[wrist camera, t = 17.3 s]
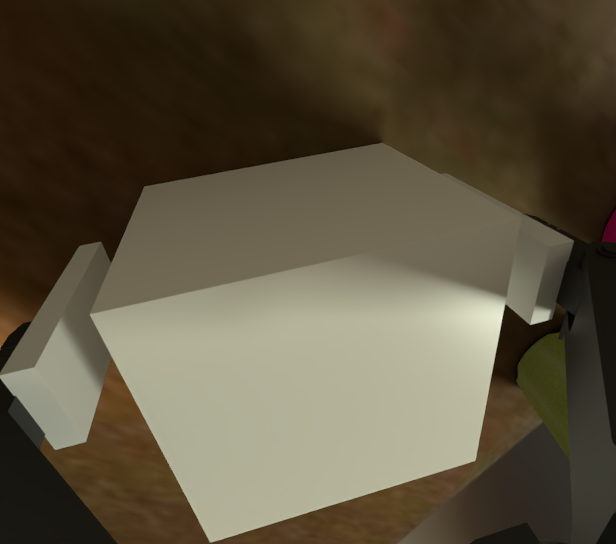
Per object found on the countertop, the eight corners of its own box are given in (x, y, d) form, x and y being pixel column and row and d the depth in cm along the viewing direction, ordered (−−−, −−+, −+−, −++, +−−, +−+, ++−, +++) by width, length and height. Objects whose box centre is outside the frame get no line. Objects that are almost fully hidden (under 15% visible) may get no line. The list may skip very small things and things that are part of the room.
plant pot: (546, 413, 31) (650, 525, 24) (466, 392, 27) (561, 518, 20) (634, 325, 28) (785, 424, 21) (557, 287, 24) (710, 392, 17)
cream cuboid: (208, 366, 21) (210, 542, 14) (144, 186, 16) (89, 314, 8) (385, 322, 22) (475, 461, 15) (382, 142, 17) (521, 218, 9)
